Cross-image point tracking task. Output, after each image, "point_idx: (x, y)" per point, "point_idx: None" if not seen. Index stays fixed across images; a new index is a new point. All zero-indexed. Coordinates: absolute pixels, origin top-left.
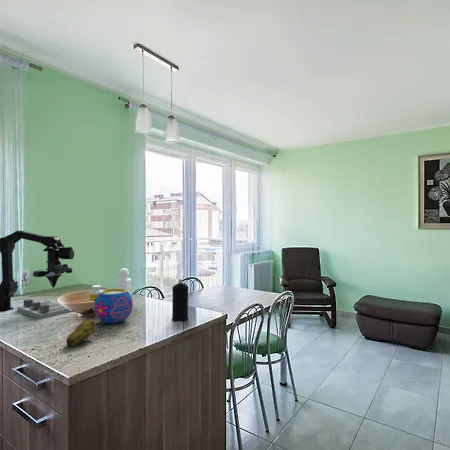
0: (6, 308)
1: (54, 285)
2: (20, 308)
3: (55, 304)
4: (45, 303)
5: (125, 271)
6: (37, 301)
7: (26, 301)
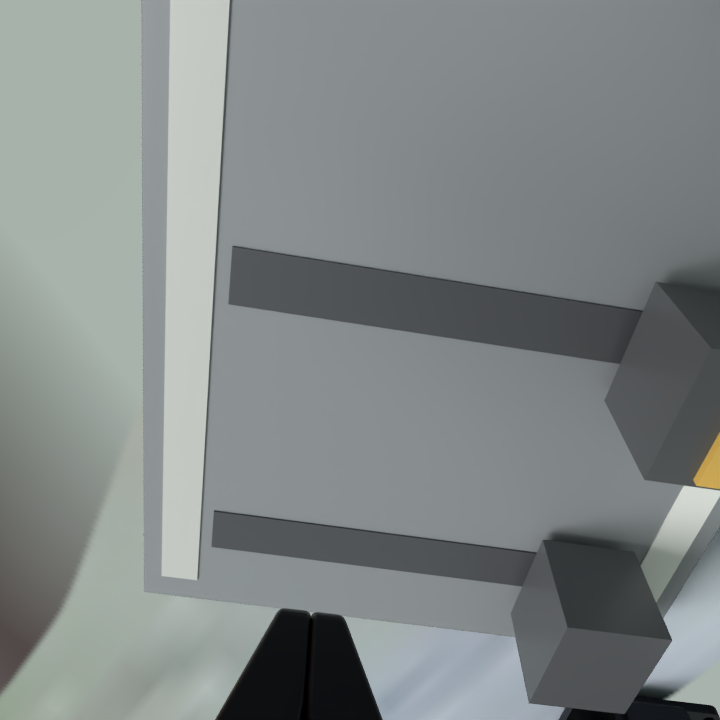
0: (670, 716)
1: (288, 678)
2: (684, 578)
3: (268, 324)
4: (318, 519)
5: None
6: (651, 470)
7: (662, 638)
